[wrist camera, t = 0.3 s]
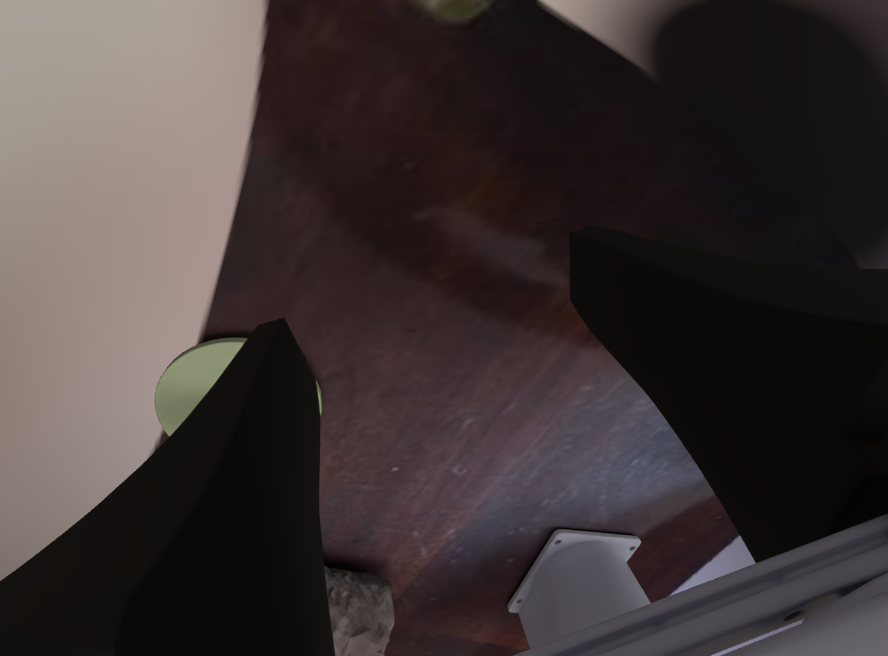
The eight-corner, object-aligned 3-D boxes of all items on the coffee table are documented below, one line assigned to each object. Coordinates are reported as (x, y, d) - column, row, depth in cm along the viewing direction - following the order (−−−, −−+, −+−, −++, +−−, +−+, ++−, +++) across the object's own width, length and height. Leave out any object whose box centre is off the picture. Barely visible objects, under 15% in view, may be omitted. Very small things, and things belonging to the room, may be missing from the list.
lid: (305, 460, 25) (297, 529, 21) (155, 442, 23) (114, 515, 19) (338, 349, 22) (335, 404, 18) (171, 314, 20) (126, 369, 16)
